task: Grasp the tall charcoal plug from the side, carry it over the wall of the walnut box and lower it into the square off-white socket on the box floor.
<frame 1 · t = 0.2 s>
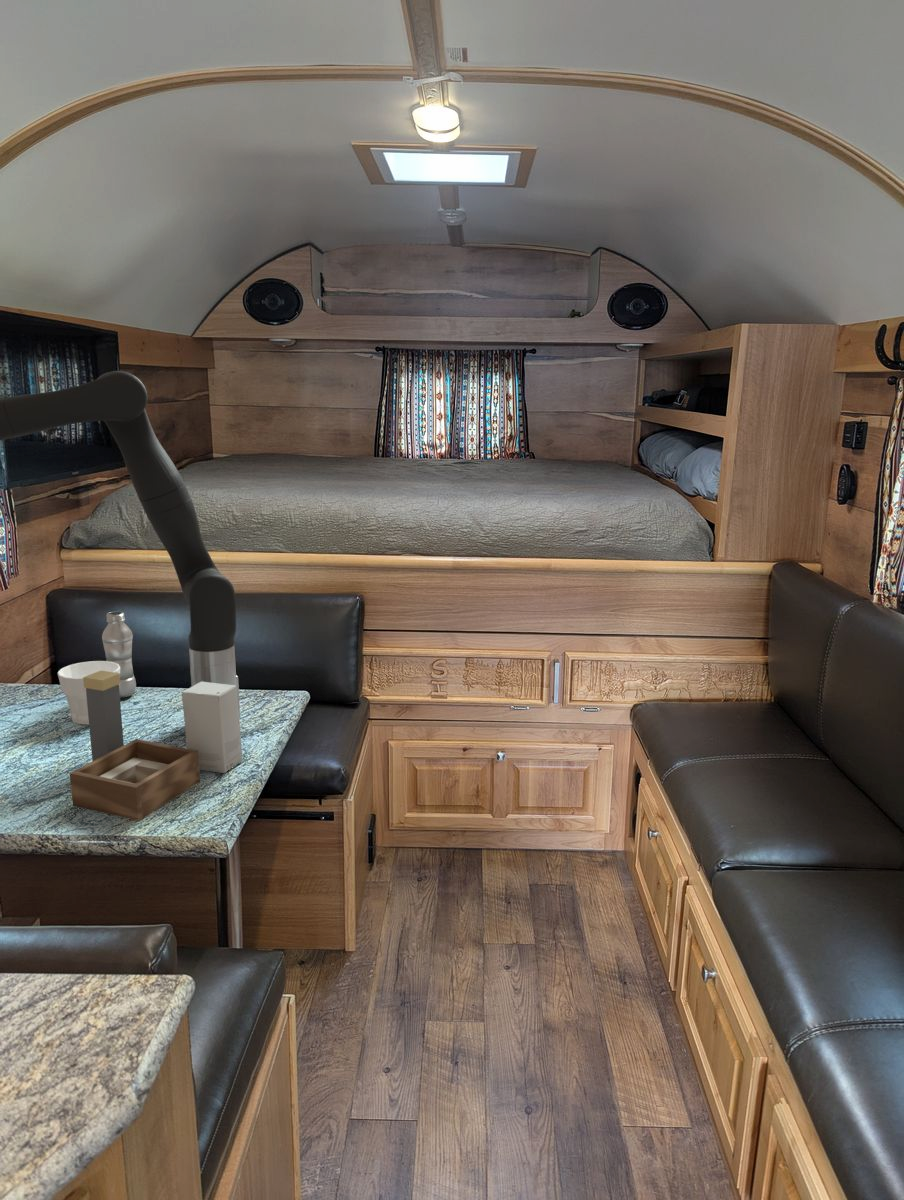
walnut box: (138, 793, 148), on the table
plastic bottle: (121, 697, 195), on the table
skincare box: (214, 766, 160), on the table
cup: (93, 718, 182), on the table
grey plug: (109, 765, 158), on the table
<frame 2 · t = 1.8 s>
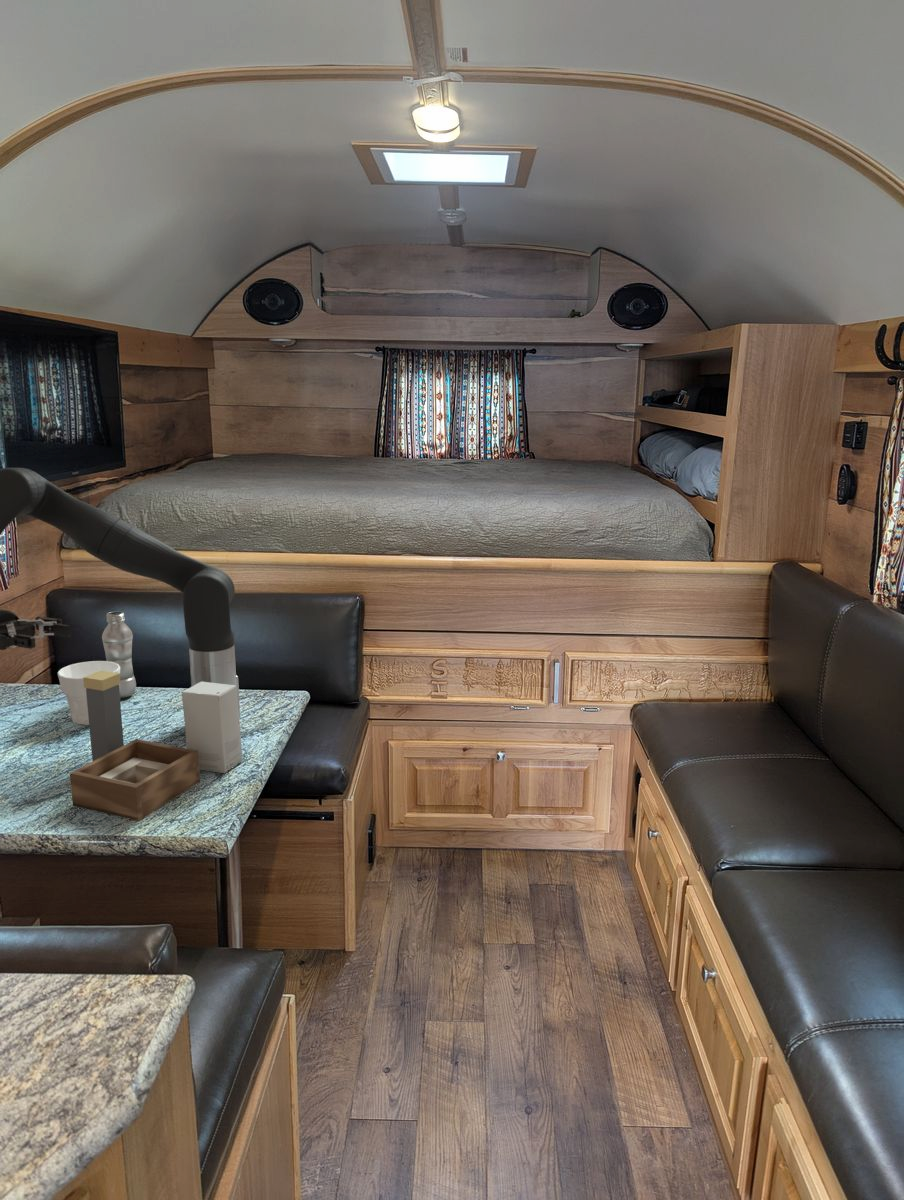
hand: (52, 636, 157), 24 cm above the table, tool horizontal, fingers open, 8 cm apart
nothing on the table moved.
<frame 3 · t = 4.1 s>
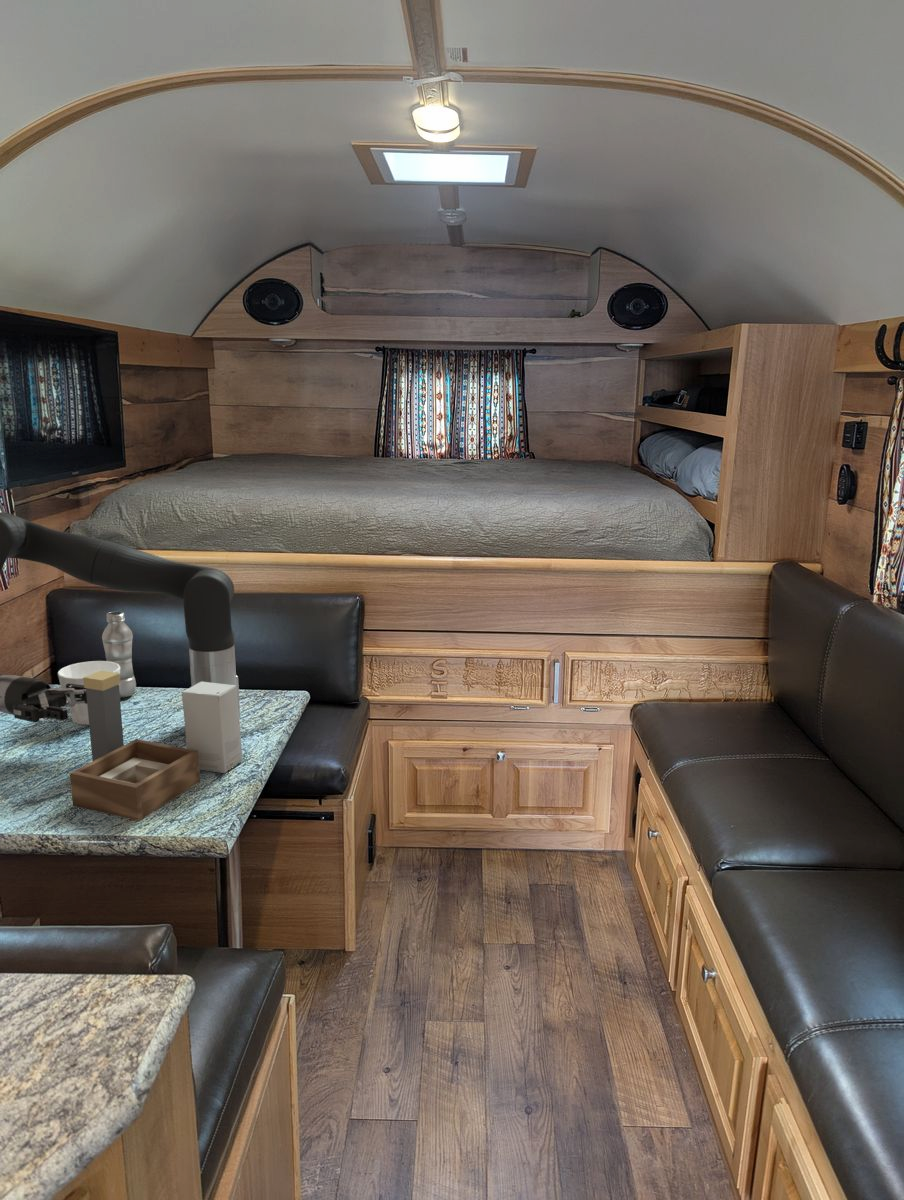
hand: (83, 707, 158), 11 cm above the table, tool horizontal, fingers open, 8 cm apart
nothing on the table moved.
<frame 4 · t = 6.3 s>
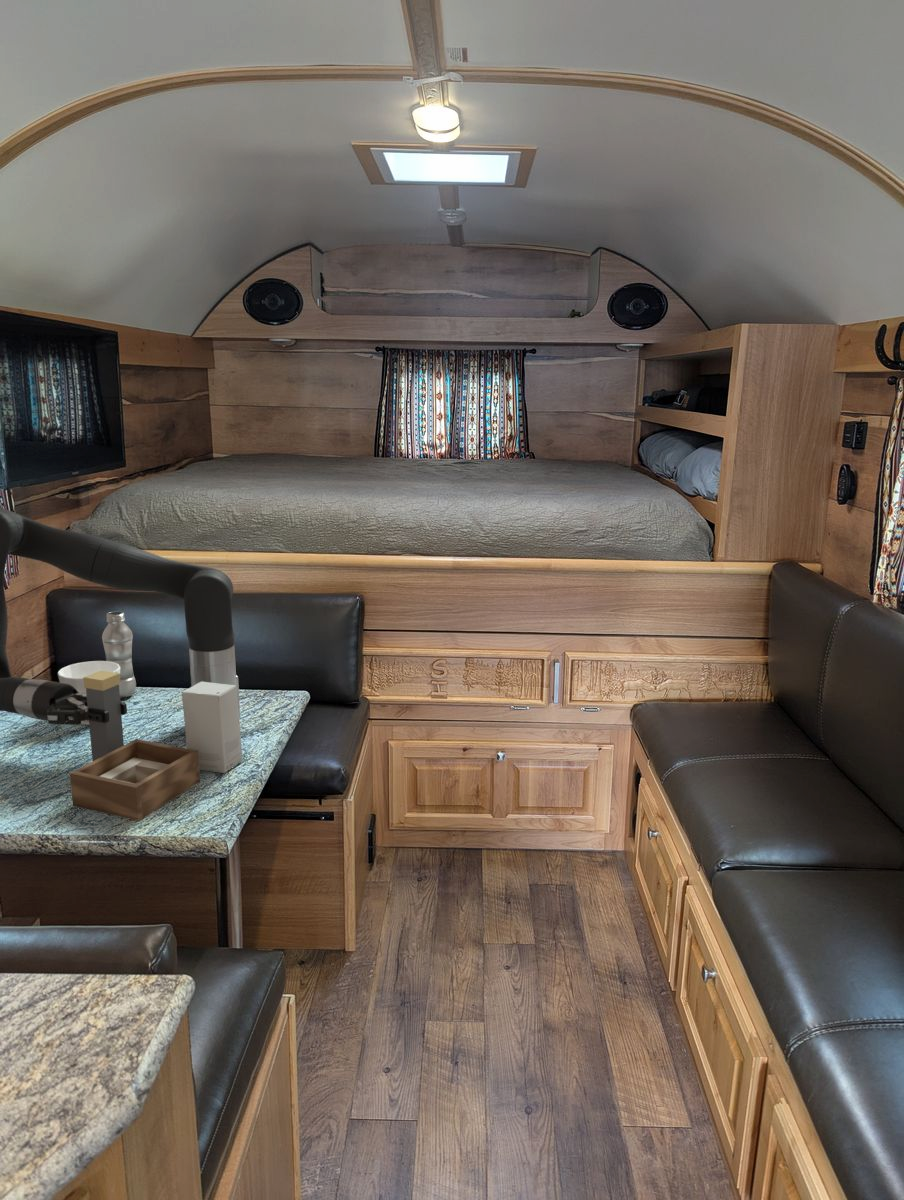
hand: (116, 713, 155), 11 cm above the table, tool horizontal, fingers closed on grey plug, 4 cm apart
grey plug: (109, 765, 158), on the table, touching gripper
everything else where it was.
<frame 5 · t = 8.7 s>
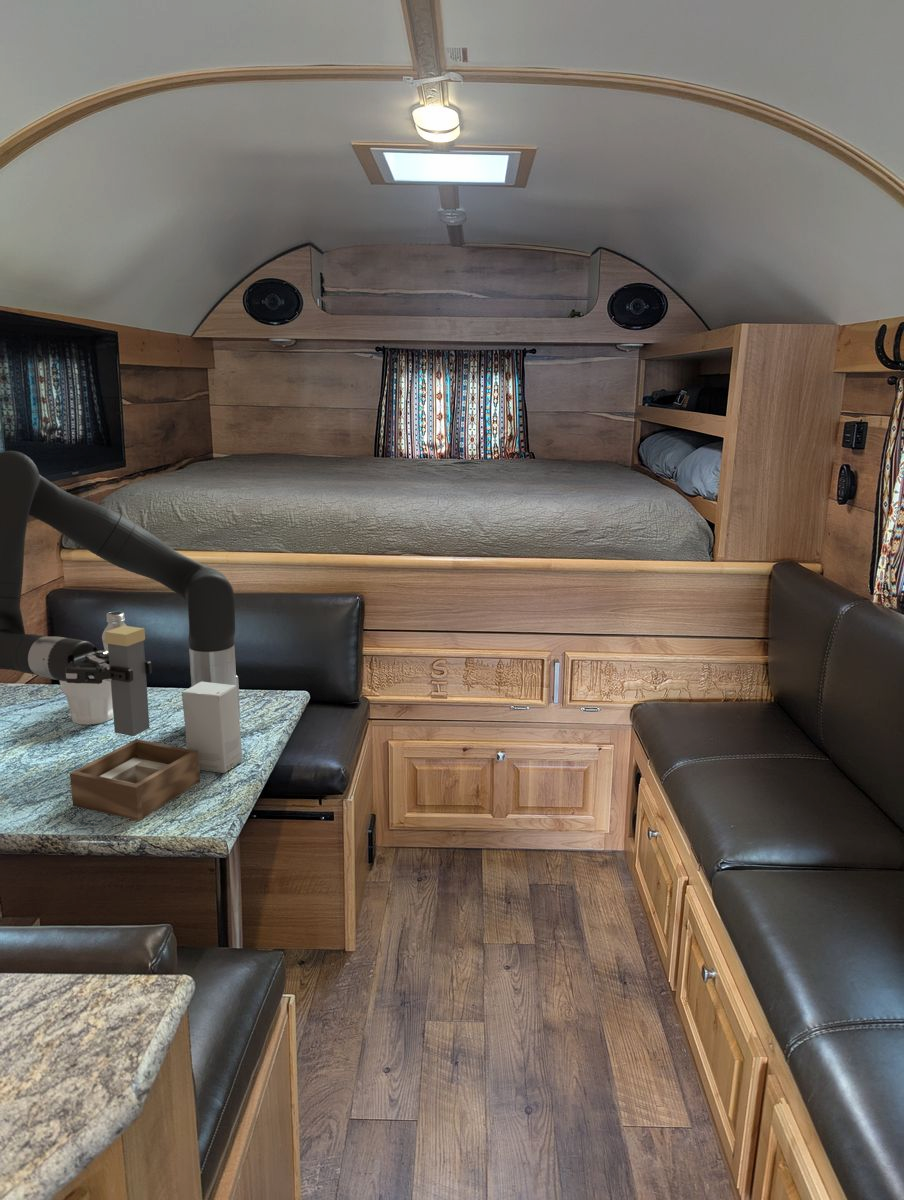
hand: (140, 671, 141), 23 cm above the table, tool horizontal, fingers closed on grey plug, 4 cm apart
grey plug: (132, 730, 145), point 12 cm above the table, touching gripper
everything else where it was.
when the fingers open (13 cm above the table, at t = 11.3 s): grey plug drops 1 cm, resting on walnut box.
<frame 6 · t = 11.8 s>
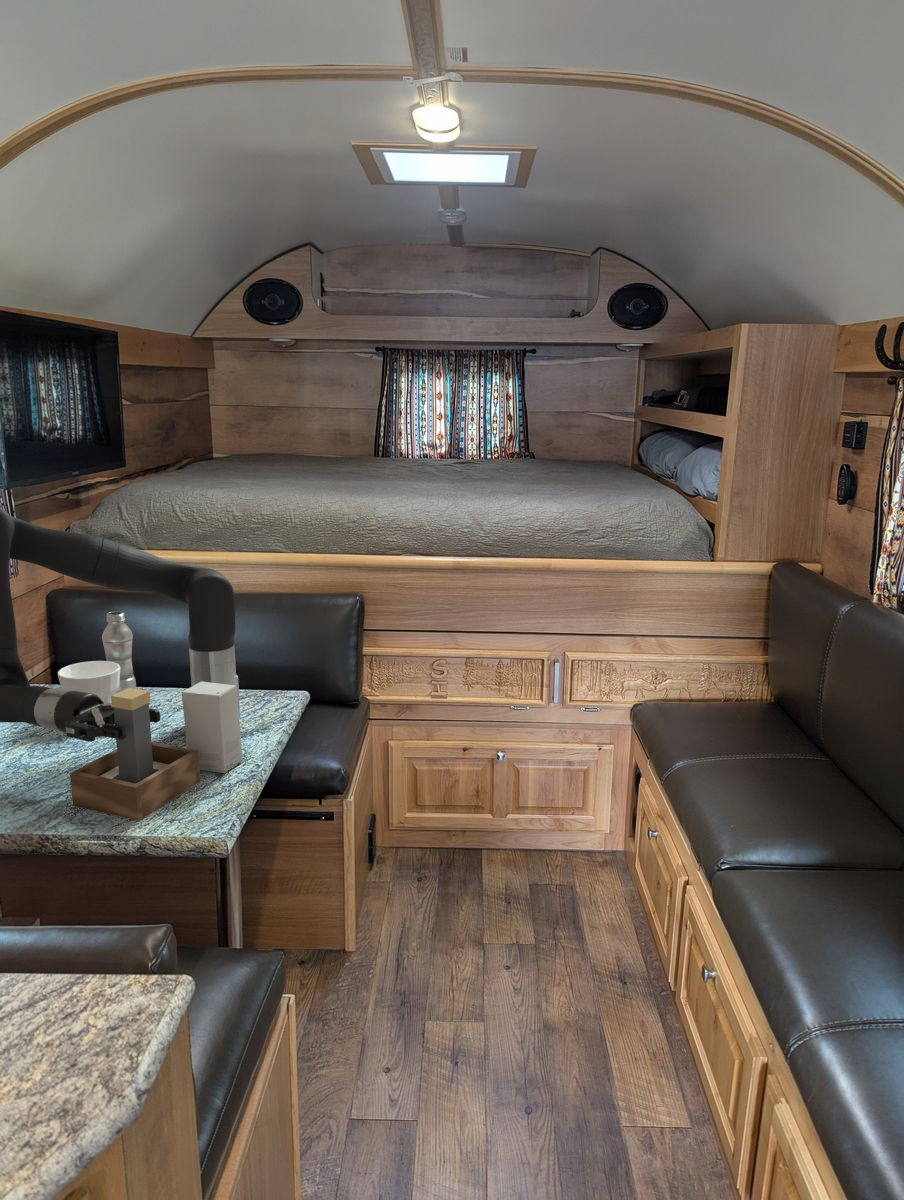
hand: (142, 724, 144), 13 cm above the table, tool horizontal, fingers open, 8 cm apart
grey plug: (137, 790, 147), point 1 cm above the table, touching walnut box
everything else where it was.
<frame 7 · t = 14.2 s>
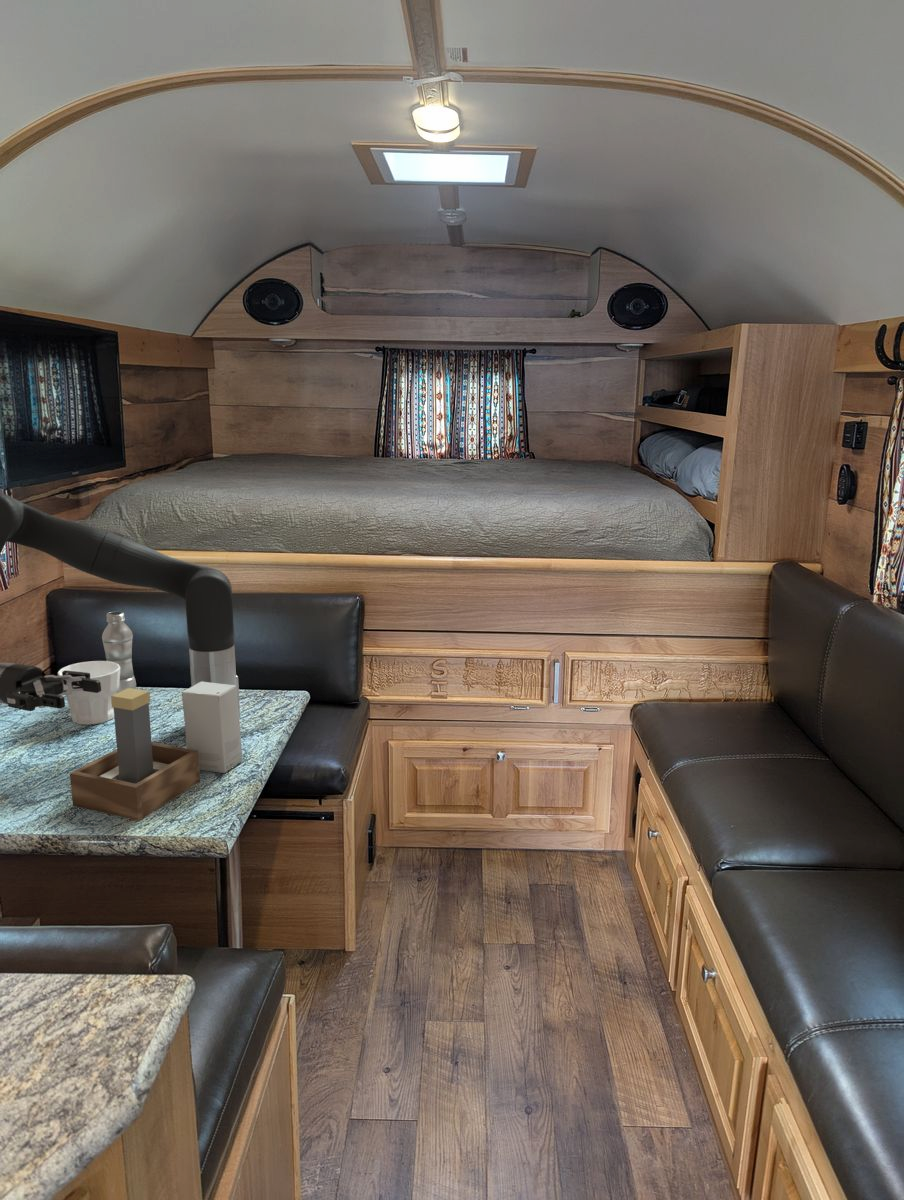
hand: (81, 694, 149), 16 cm above the table, tool horizontal, fingers open, 8 cm apart
nothing on the table moved.
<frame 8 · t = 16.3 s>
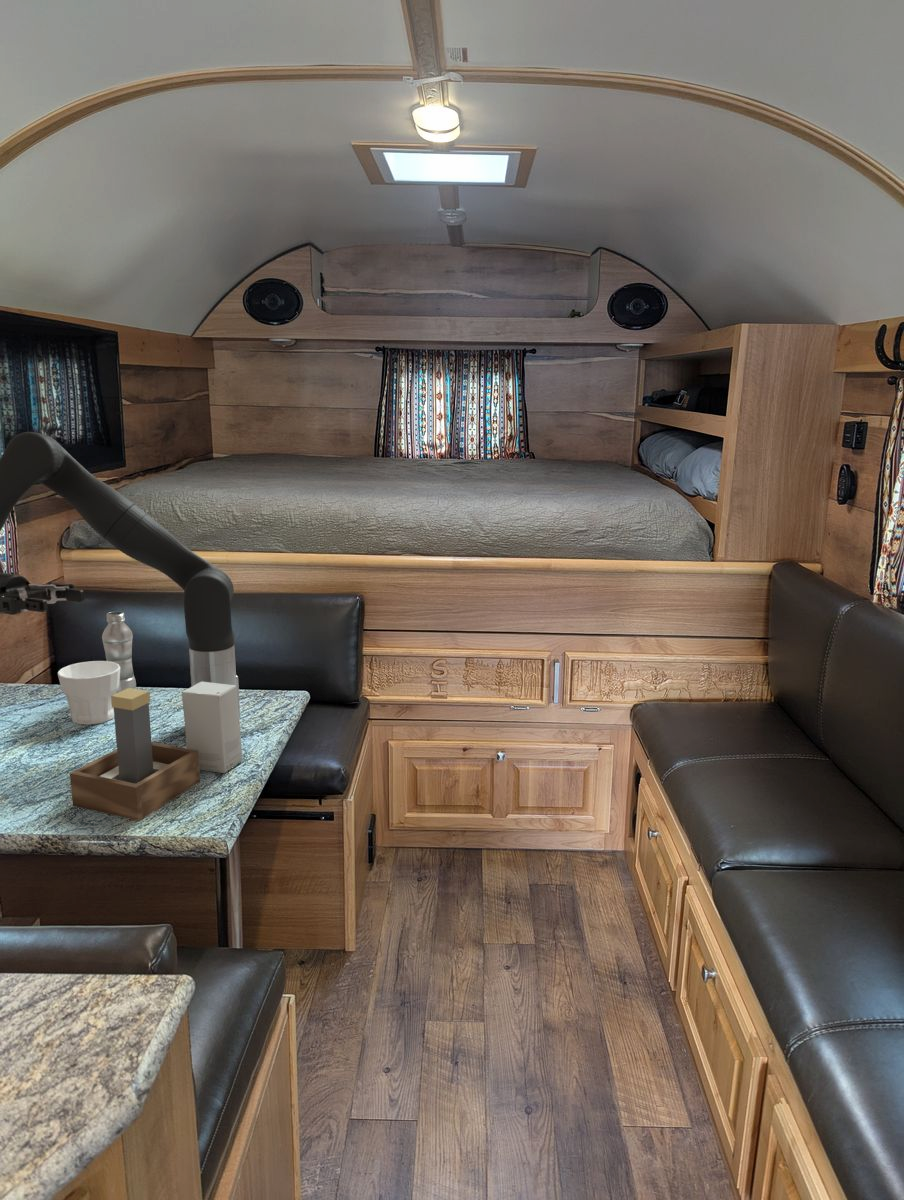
hand: (64, 600, 151), 32 cm above the table, tool horizontal, fingers open, 8 cm apart
nothing on the table moved.
at the end: grey plug 0.1 cm off-centre on the walnut box, point 0.6 cm above the walnut box's base; grey plug tilted 0°; the gripper is holding nothing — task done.
